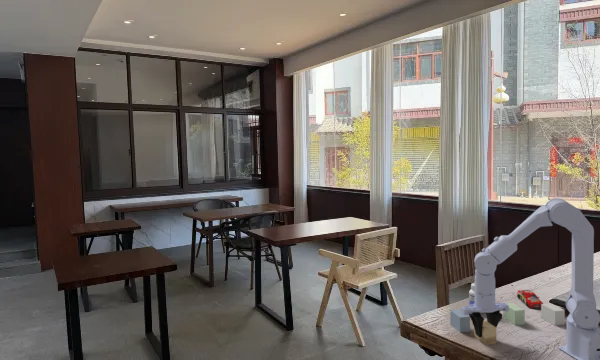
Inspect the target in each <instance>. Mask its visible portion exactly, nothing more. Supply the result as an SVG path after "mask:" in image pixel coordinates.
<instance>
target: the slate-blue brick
mask: <svg viewBox="0 0 600 360" xmlns="http://www.w3.org/2000/svg"><path fill="white" fill-rule="evenodd" d="M449 314H450V315H449V316H450V317H449V318H450V324H449V325H451V326H452V328H454V329H455V330H457V332H459V333H466V332H467V333H469V332H471V318H470V316H469V315H463V314H462V313H461V308H459V309H457V308H456V309H450V311H449Z"/></svg>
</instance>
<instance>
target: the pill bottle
mask: <svg viewBox="0 0 600 360" xmlns="http://www.w3.org/2000/svg"><path fill="white" fill-rule="evenodd" d="M468 301H469V302H468V305H471V304H475V282H472V283H471V284H470V290H469V291H468ZM482 314H483V313H480V315H482Z"/></svg>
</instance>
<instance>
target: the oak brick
mask: <svg viewBox="0 0 600 360" xmlns="http://www.w3.org/2000/svg"><path fill="white" fill-rule="evenodd" d="M473 337H475V338H476V339H477V340H479V341H480V342H481V341H482V342H483V345H485V346H487V345H486V344H490V345H496V344H497V327H495V326H493V325H492V324H490V323H489V322H487V319H485V318H484V321H483V326H482V337H478V336H477V335H476V333H475V328H474V327H473ZM482 342H481V343H482Z"/></svg>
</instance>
